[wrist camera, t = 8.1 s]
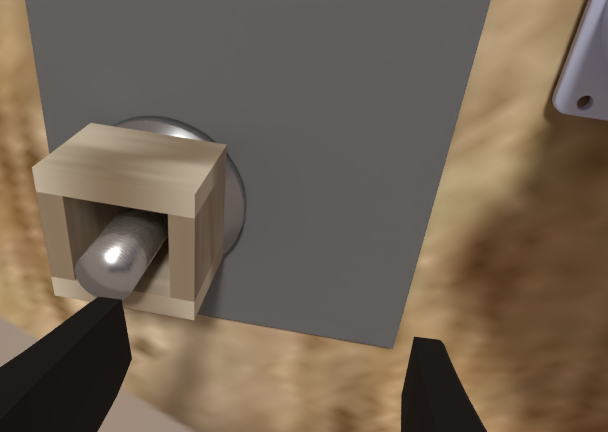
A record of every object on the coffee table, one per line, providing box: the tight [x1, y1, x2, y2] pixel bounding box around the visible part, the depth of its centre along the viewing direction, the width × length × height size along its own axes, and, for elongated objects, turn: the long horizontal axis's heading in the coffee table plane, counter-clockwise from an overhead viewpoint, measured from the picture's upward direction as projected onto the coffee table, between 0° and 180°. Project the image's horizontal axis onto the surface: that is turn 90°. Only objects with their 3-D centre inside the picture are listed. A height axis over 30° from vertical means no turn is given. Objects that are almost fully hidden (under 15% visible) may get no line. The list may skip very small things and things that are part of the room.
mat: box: [25, 0, 490, 349], centre depth 19 cm, size 16×26×1 cm, turn 174°
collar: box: [32, 123, 227, 320], centre depth 20 cm, size 5×5×4 cm
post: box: [75, 116, 247, 300], centre depth 20 cm, size 7×7×6 cm
